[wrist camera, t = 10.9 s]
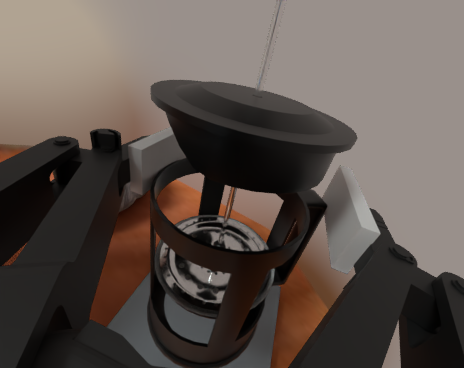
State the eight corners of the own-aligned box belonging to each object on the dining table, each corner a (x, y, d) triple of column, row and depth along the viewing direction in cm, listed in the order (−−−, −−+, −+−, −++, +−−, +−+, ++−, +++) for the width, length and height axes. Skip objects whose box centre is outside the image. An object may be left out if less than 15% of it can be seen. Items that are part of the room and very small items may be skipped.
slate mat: (256, 447, 18) (259, 445, 17) (90, 354, 20) (88, 350, 20) (278, 290, 30) (280, 286, 30) (173, 245, 33) (173, 241, 32)
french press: (128, 390, 13) (-106, -1075, 1) (144, 261, 21) (136, -102, 9) (293, 352, 17) (663, -84, 5) (255, 254, 24) (359, -10, 12)
